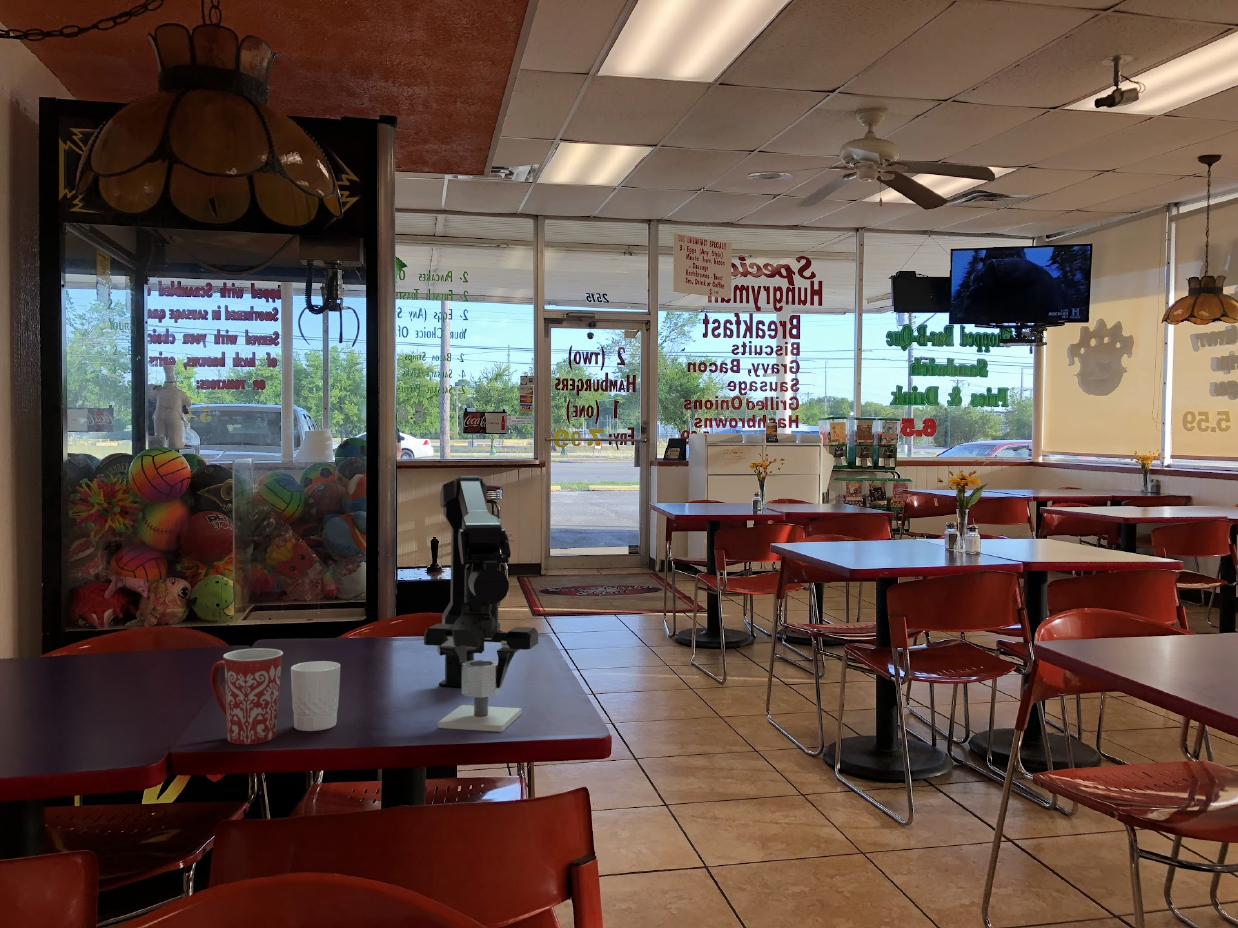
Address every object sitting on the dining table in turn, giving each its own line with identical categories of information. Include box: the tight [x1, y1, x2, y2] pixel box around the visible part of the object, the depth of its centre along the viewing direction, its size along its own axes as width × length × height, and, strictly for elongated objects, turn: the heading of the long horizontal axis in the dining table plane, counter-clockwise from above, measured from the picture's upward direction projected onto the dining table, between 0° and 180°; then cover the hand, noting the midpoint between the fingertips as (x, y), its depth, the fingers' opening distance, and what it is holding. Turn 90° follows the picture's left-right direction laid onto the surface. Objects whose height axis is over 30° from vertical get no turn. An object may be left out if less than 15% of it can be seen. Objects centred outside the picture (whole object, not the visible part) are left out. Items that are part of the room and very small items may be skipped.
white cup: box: [290, 660, 341, 732], centre depth 157 cm, size 8×8×10 cm
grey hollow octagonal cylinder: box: [461, 659, 501, 698], centre depth 161 cm, size 6×6×5 cm
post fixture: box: [437, 697, 522, 733], centre depth 161 cm, size 11×11×6 cm
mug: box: [209, 647, 284, 745], centre depth 151 cm, size 13×9×14 cm
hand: (481, 686), depth 161 cm, fingers closed on grey hollow octagonal cylinder, 6 cm apart
